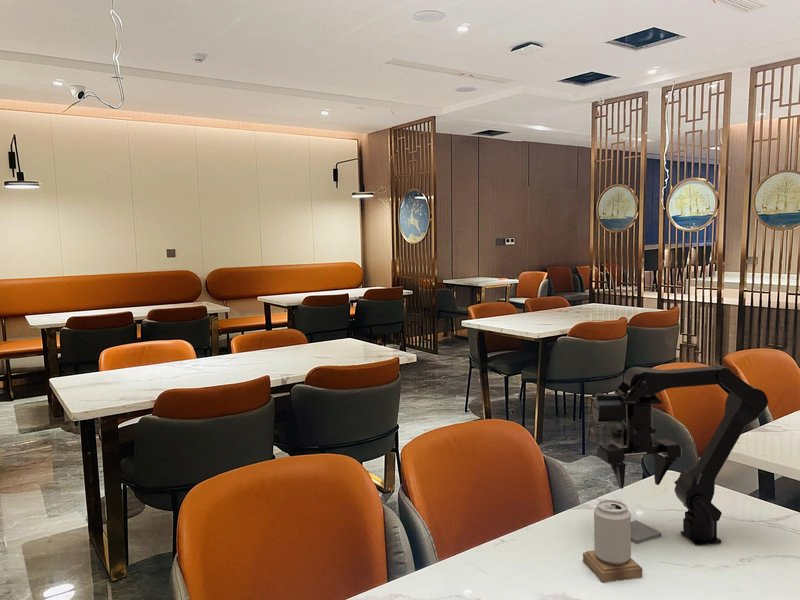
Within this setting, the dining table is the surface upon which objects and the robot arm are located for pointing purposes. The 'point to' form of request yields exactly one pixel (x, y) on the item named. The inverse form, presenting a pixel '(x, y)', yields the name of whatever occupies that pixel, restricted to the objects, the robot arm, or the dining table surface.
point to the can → (612, 532)
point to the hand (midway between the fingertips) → (639, 486)
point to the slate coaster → (642, 532)
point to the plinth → (611, 568)
